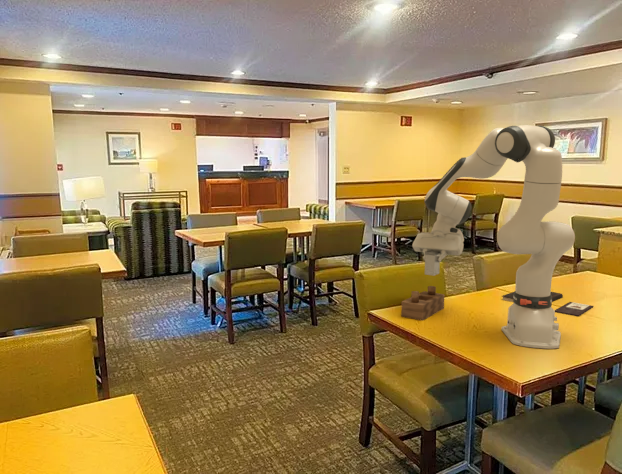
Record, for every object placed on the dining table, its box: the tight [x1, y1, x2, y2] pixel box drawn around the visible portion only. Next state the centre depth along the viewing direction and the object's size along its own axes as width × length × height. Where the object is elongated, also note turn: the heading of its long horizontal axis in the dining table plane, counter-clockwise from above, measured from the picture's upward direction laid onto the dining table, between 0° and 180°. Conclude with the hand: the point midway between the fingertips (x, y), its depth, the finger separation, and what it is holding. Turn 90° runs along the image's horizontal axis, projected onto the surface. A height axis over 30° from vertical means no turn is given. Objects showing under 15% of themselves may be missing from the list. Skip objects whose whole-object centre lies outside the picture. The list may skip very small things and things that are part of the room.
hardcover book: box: [501, 291, 564, 303], centre depth 208 cm, size 16×23×2 cm
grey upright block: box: [424, 250, 441, 277], centre depth 188 cm, size 5×4×9 cm
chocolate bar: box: [554, 301, 594, 318], centre depth 191 cm, size 9×1×18 cm
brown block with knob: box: [401, 285, 445, 321], centre depth 190 cm, size 20×9×10 cm, turn 141°
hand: (431, 260), depth 188 cm, fingers closed on grey upright block, 4 cm apart
